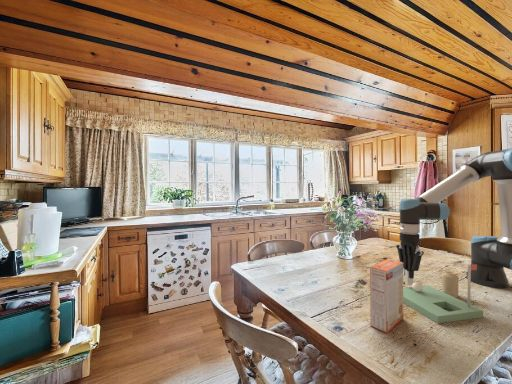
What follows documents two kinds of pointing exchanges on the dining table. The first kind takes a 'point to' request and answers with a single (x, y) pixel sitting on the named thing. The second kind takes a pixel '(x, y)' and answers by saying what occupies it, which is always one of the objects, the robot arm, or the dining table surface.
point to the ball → (417, 286)
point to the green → (441, 303)
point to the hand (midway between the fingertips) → (408, 284)
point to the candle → (450, 284)
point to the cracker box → (386, 294)
